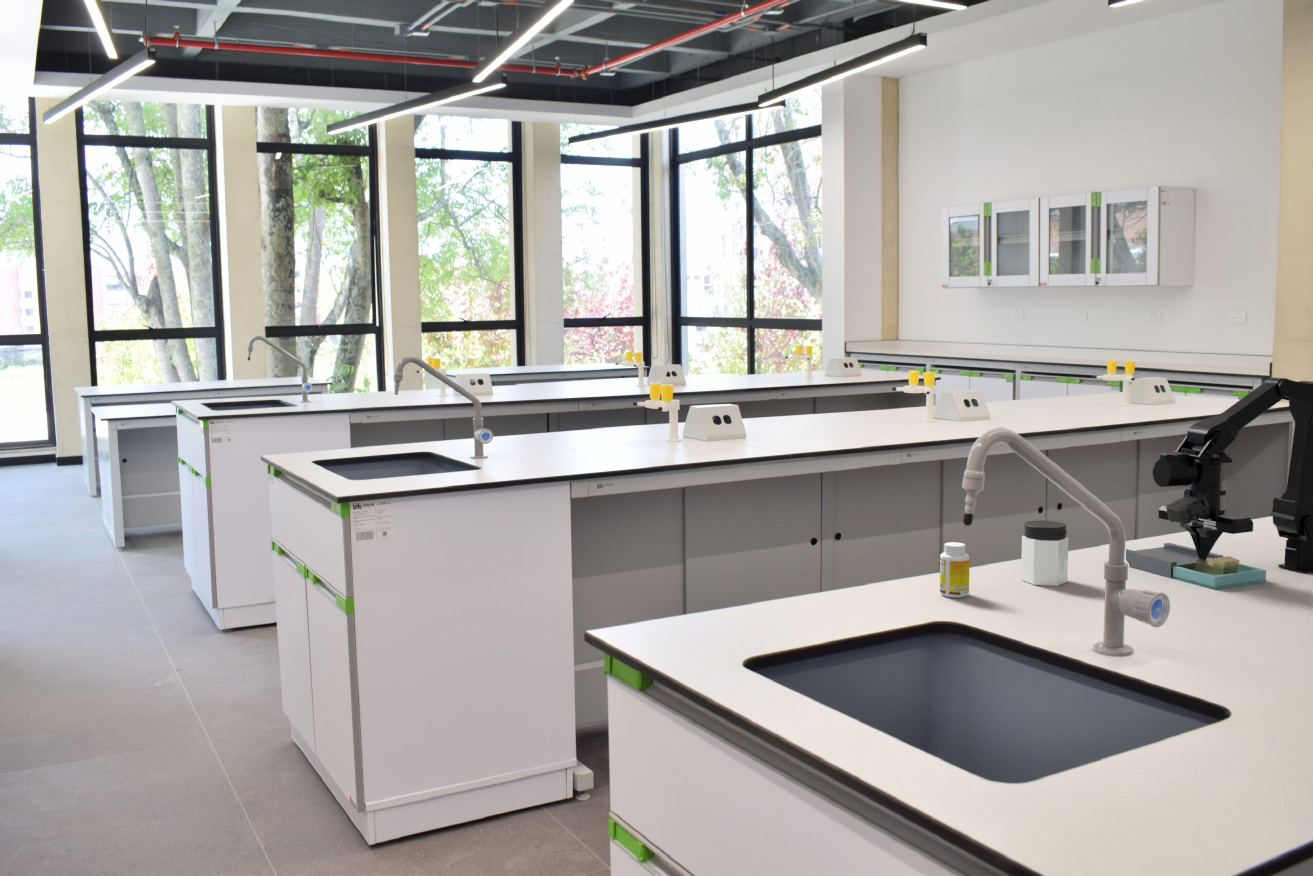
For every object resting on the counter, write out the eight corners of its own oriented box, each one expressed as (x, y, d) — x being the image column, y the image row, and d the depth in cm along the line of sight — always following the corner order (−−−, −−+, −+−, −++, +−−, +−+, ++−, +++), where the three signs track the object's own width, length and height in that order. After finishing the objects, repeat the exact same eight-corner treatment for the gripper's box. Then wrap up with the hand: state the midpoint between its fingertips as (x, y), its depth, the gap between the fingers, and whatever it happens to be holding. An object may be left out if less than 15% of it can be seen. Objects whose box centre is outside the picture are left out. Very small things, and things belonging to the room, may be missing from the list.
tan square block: (1209, 569, 217) (1211, 557, 217) (1225, 576, 214) (1227, 564, 213) (1194, 571, 216) (1196, 559, 215) (1210, 578, 212) (1212, 566, 212)
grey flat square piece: (1168, 557, 234) (1169, 542, 233) (1222, 570, 221) (1223, 555, 220) (1118, 563, 228) (1118, 549, 228) (1170, 578, 215) (1171, 562, 215)
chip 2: (1228, 556, 213) (1239, 560, 211) (1225, 574, 214) (1236, 578, 212) (1214, 558, 211) (1224, 562, 209) (1211, 576, 212) (1221, 581, 210)
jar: (1053, 588, 209) (1054, 530, 208) (1015, 582, 215) (1016, 524, 214) (1073, 580, 215) (1074, 523, 214) (1035, 574, 221) (1036, 518, 220)
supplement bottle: (974, 595, 206) (975, 544, 204) (958, 600, 202) (958, 548, 201) (950, 589, 210) (951, 539, 209) (933, 594, 206) (934, 544, 205)
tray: (1222, 571, 220) (1223, 559, 220) (1265, 581, 211) (1266, 569, 211) (1172, 578, 215) (1173, 566, 215) (1214, 589, 206) (1214, 577, 206)
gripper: (1139, 481, 221) (1137, 553, 222) (1215, 494, 203) (1211, 573, 205) (1179, 477, 225) (1176, 548, 226) (1257, 490, 207) (1253, 567, 209)
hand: (1202, 559), depth 217 cm, fingers closed
